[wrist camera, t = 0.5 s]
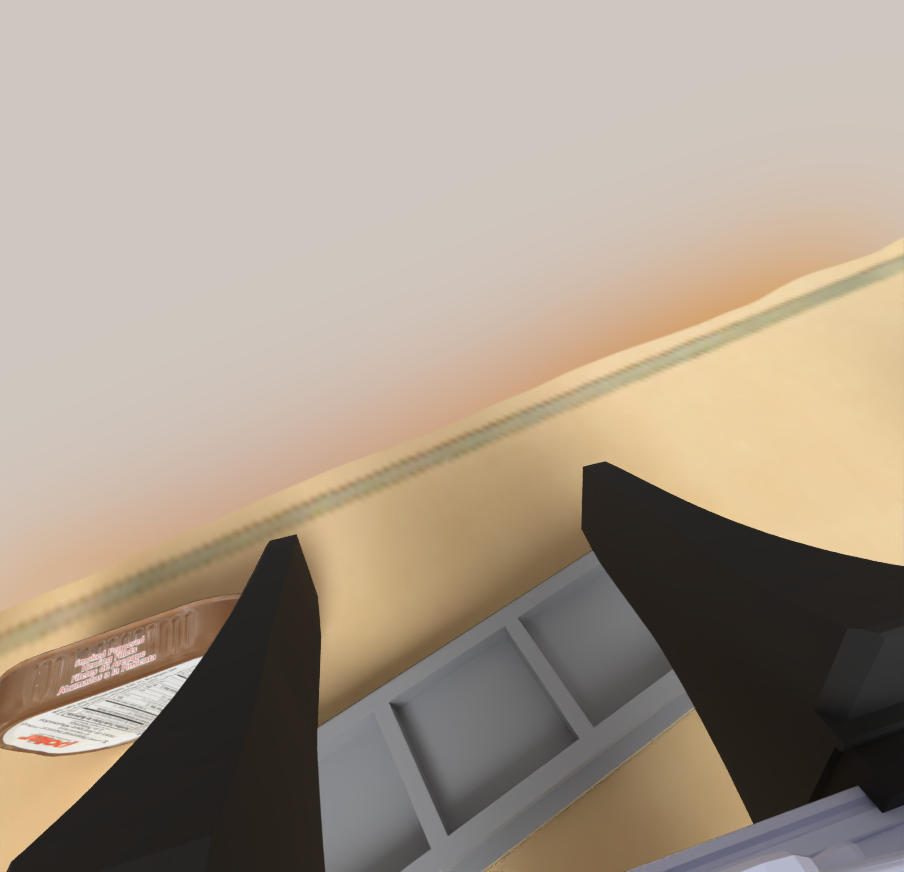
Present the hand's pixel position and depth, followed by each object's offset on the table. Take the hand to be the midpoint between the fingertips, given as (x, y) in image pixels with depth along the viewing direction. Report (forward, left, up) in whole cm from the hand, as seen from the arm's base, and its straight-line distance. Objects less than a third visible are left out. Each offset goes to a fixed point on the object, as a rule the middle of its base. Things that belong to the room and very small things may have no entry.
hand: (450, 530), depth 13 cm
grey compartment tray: (0, +1, -18) cm, 18 cm away
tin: (+10, +14, -19) cm, 26 cm away
